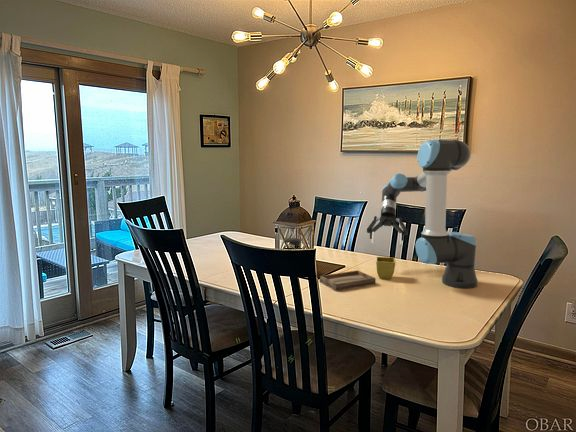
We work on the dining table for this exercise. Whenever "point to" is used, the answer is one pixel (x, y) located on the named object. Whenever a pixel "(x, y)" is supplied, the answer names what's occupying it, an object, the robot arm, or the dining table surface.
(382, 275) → the flower pot
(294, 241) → the french press
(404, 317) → the dining table surface
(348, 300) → the dining table surface
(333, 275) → the walnut tray
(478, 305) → the dining table surface
